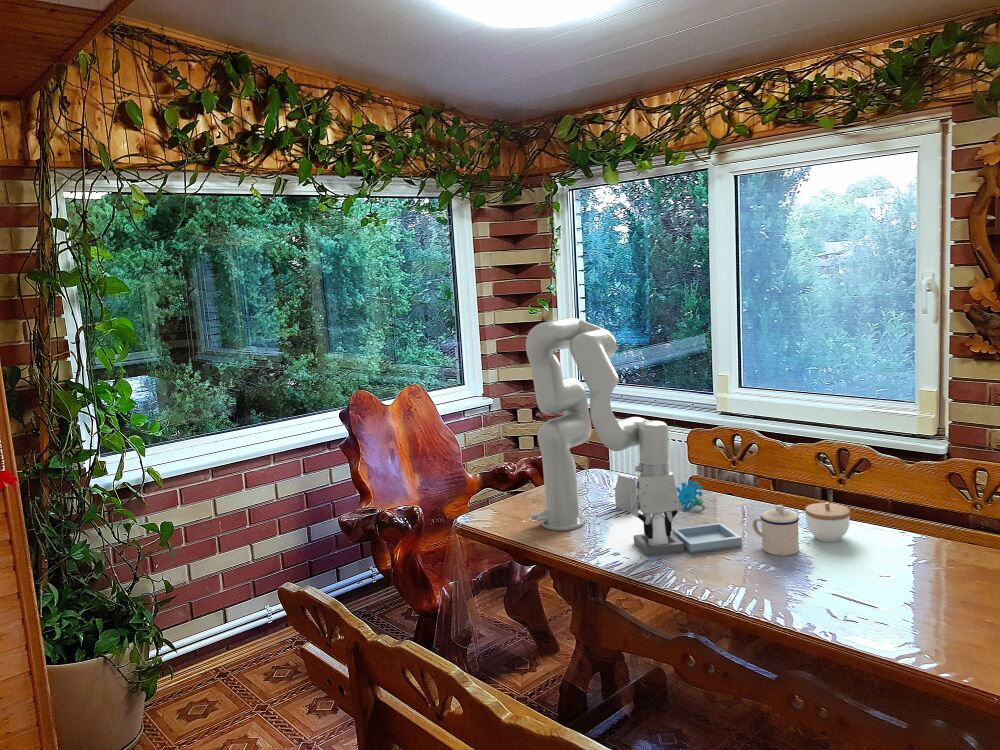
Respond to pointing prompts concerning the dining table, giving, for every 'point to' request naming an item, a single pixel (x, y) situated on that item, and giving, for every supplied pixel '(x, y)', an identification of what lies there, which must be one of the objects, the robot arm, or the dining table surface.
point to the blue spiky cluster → (690, 494)
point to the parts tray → (707, 537)
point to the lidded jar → (827, 521)
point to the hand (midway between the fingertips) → (658, 535)
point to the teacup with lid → (778, 531)
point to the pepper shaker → (658, 530)
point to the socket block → (671, 547)
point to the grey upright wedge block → (625, 493)
